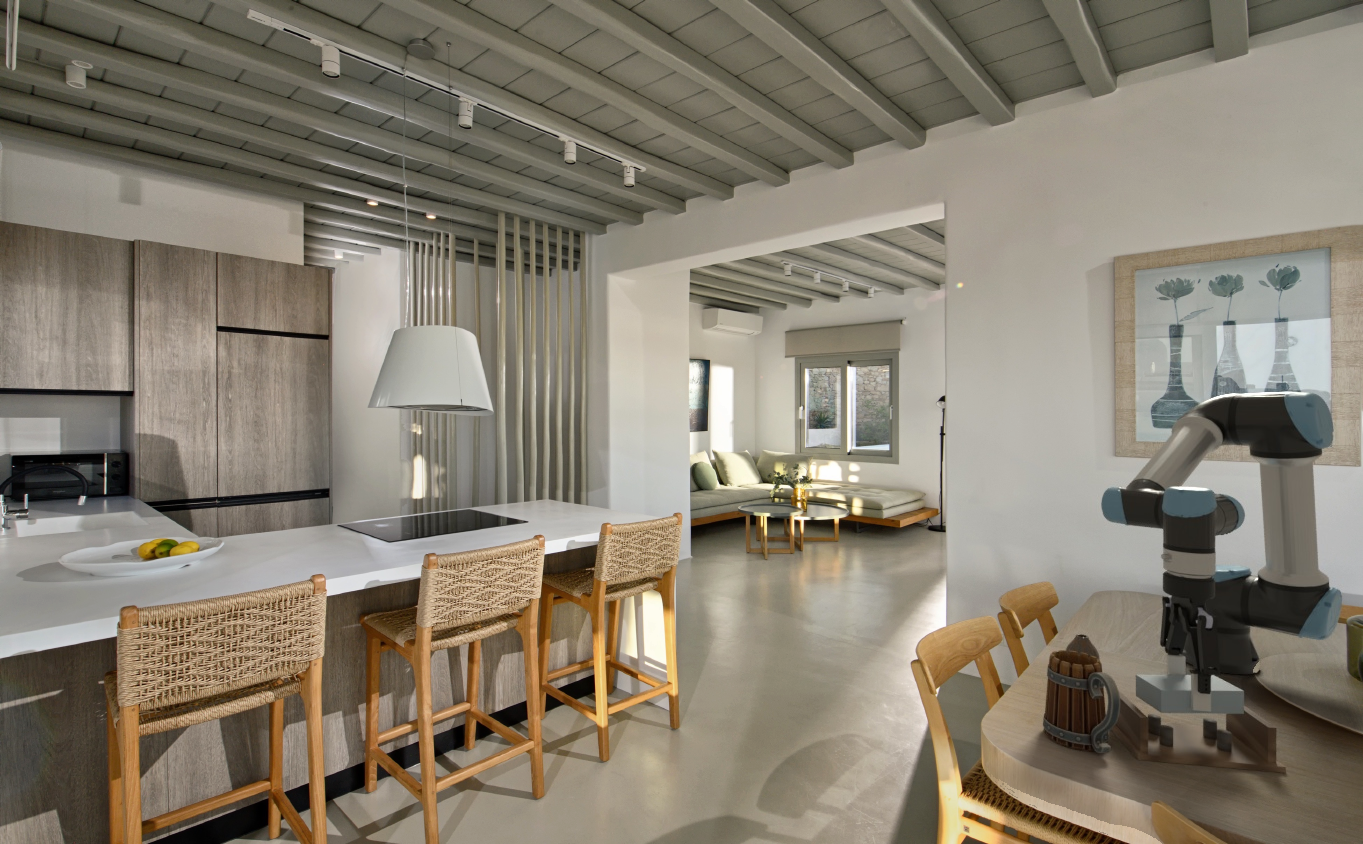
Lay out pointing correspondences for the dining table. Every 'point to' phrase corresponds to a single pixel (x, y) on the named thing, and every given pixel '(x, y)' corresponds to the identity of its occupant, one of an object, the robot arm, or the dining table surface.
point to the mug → (1079, 702)
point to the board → (1187, 694)
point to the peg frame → (1200, 740)
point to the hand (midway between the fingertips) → (1188, 699)
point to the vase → (1083, 646)
